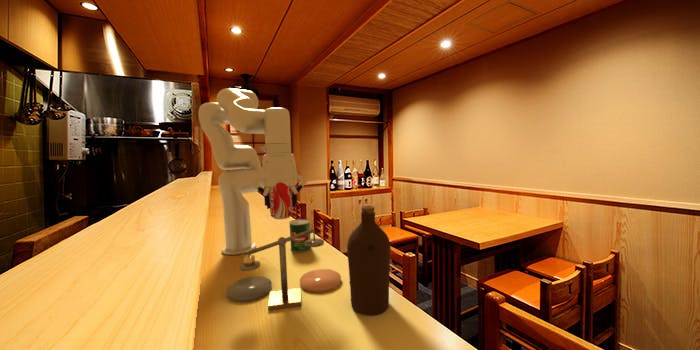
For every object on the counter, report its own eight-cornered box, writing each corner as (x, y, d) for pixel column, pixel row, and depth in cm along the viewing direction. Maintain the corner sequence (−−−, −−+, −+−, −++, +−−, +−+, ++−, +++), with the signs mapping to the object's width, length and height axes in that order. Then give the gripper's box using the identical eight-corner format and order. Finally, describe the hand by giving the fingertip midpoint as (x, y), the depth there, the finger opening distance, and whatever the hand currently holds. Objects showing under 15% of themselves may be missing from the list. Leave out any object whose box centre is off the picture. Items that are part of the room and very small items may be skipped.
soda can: (288, 220, 84) (286, 180, 82) (266, 219, 85) (264, 180, 84) (297, 214, 91) (295, 177, 89) (276, 214, 92) (274, 177, 91)
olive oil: (400, 307, 69) (399, 207, 67) (365, 323, 63) (362, 214, 61) (373, 289, 78) (371, 201, 75) (340, 302, 72) (337, 206, 70)
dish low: (231, 282, 84) (231, 279, 84) (273, 278, 87) (273, 274, 86) (221, 304, 73) (221, 300, 72) (270, 298, 75) (269, 294, 75)
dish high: (299, 275, 88) (299, 271, 88) (337, 270, 90) (337, 267, 90) (300, 294, 76) (300, 290, 76) (344, 289, 79) (343, 285, 79)
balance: (244, 299, 75) (239, 230, 73) (324, 289, 79) (322, 224, 77) (239, 314, 68) (234, 239, 66) (327, 302, 72) (324, 231, 70)
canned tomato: (307, 244, 116) (306, 217, 115) (314, 250, 109) (312, 222, 108) (288, 247, 112) (286, 220, 111) (294, 254, 105) (292, 225, 104)
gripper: (246, 150, 80) (250, 211, 82) (308, 149, 84) (310, 207, 86) (250, 150, 88) (253, 206, 89) (306, 148, 91) (308, 202, 93)
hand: (281, 206), depth 88 cm, fingers closed on soda can, 7 cm apart
